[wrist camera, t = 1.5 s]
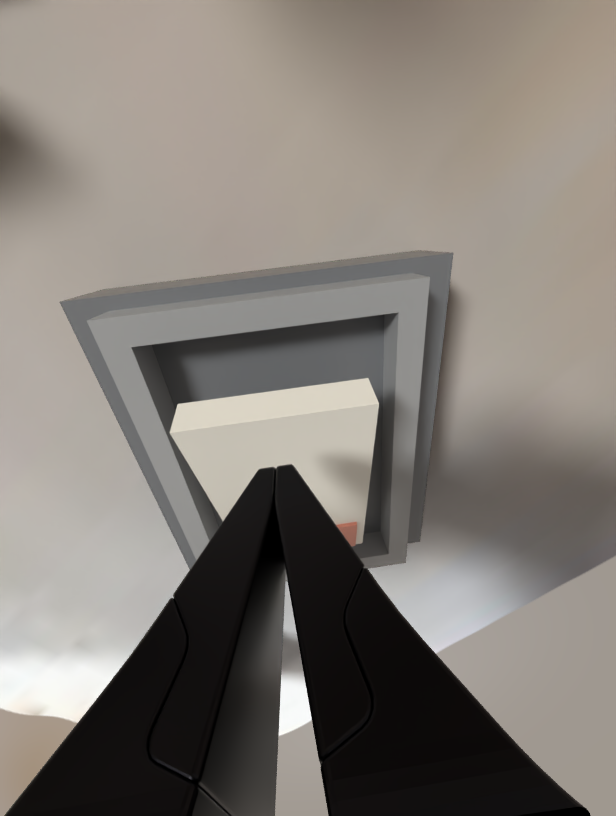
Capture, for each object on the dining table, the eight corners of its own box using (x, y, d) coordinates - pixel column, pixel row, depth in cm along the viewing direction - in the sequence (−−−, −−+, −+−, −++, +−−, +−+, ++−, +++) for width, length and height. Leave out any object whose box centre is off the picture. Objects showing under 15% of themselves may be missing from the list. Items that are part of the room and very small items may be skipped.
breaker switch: (356, 521, 17) (363, 546, 16) (247, 537, 16) (246, 563, 15) (368, 377, 10) (380, 407, 9) (177, 404, 9) (168, 436, 8)
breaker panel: (402, 504, 21) (430, 563, 17) (203, 534, 21) (186, 602, 17) (418, 250, 14) (477, 254, 10) (102, 289, 13) (28, 310, 9)
